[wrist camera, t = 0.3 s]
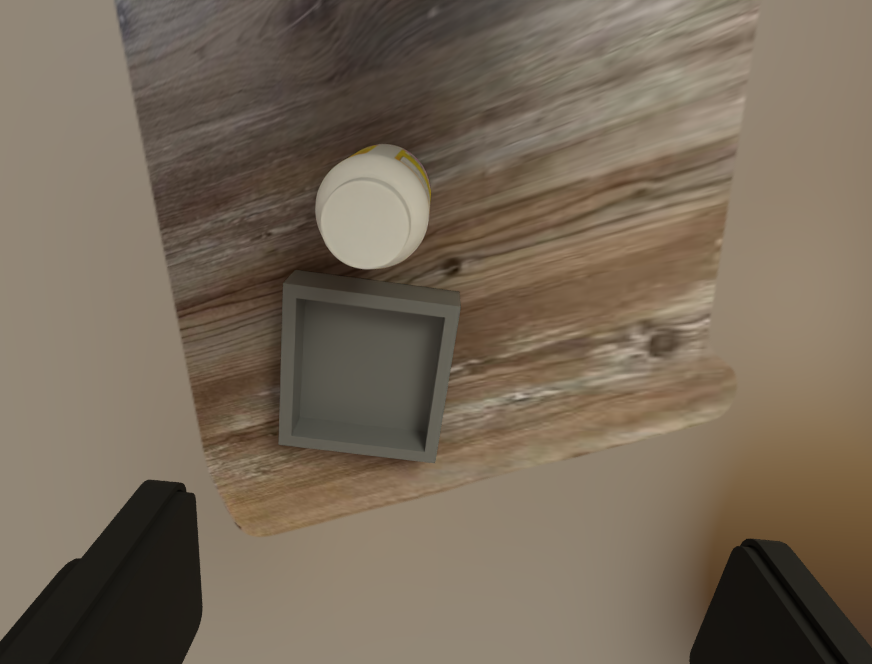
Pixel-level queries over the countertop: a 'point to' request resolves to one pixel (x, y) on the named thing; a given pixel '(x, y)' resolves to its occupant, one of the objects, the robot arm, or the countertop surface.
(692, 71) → the countertop surface
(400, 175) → the supplement bottle
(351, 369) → the charcoal tray
